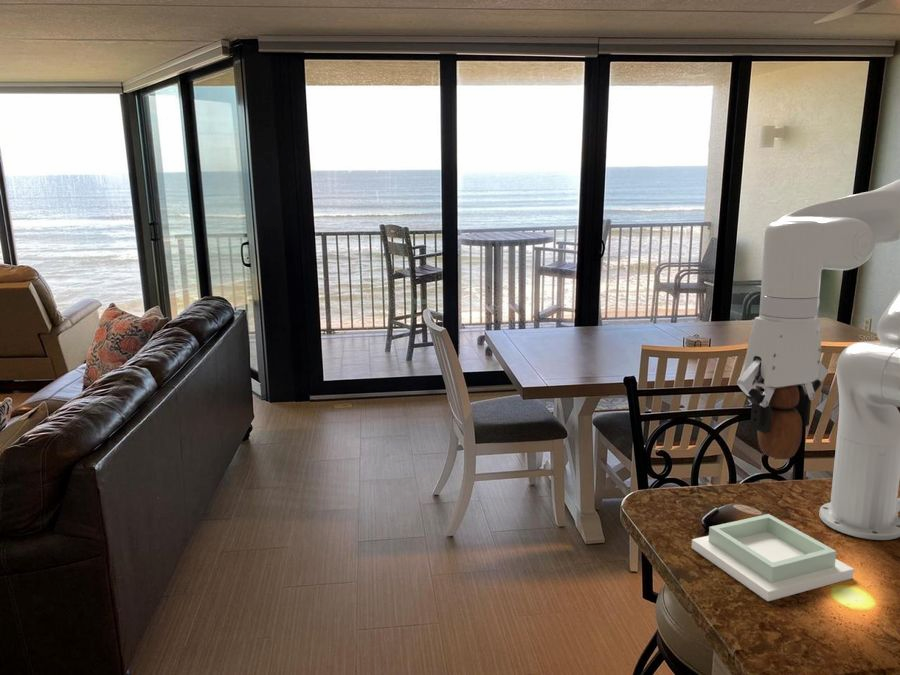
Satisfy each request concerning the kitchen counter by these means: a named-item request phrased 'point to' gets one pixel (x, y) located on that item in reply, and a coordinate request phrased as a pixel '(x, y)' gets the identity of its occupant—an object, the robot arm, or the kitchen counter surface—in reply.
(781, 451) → the wooden figurine
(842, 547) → the kitchen counter surface
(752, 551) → the ceramic stand
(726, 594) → the kitchen counter surface
